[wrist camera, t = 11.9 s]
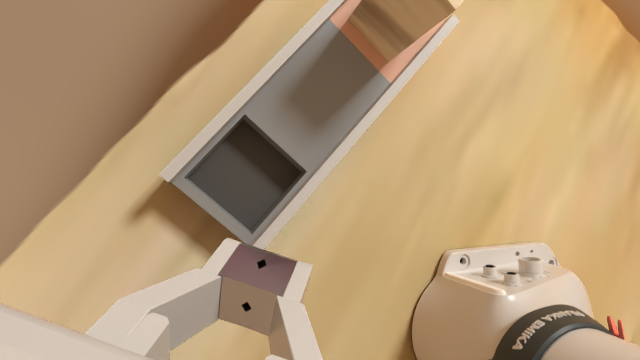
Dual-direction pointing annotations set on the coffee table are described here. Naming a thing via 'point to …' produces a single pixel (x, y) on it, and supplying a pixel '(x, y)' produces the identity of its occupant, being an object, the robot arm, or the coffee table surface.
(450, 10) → the block
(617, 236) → the coffee table surface
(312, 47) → the lane
